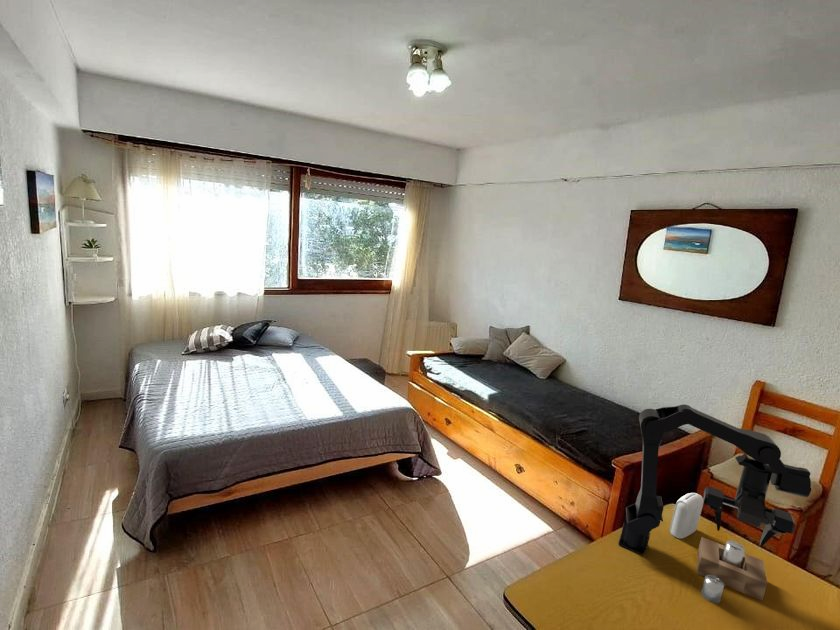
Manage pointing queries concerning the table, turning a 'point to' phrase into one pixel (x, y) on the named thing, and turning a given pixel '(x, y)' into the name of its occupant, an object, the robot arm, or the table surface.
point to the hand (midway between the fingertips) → (738, 537)
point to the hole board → (732, 569)
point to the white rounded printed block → (686, 515)
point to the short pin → (712, 588)
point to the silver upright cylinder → (733, 553)
